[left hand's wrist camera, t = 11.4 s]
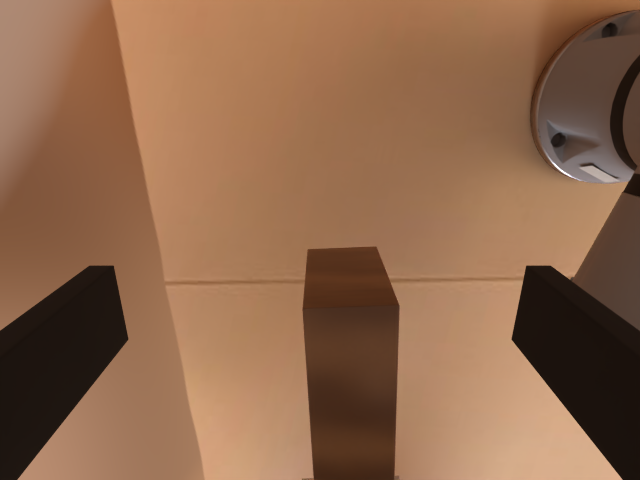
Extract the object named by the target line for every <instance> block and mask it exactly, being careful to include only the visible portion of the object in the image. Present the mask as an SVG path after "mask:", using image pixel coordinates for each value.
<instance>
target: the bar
mask: <svg viewBox="0 0 640 480" xmlns="http://www.w3.org/2000/svg"><path fill="white" fill-rule="evenodd" d="M303 323H304V338H305V353H306V368H307V384H308V399H309V414H310V429H311V444H312V460H313V475H314V480H394V474H395V439H396V405H397V370H398V336H399V303H398V301H397V298H396V296H395V293H394V291H393V288H392V285H391V283H390V280H389V278H388V275H387V273H386V270H385V267H384V265H383V262H382V260H381V257H380V255H379V252H378V250H377V247H354V248H329V249H308V252H307V264H306V275H305V287H304V299H303Z"/></svg>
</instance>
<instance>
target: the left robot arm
mask: <svg viewBox="0 0 640 480" xmlns="http://www.w3.org/2000/svg"><path fill="white" fill-rule="evenodd" d="M530 122H531V131H532V136H533V139H534V142H535V145H536V147H537V149H538V151H539V153H540V154H541V156H542V157H543V158H544V160H545V161H546V162H547V163H548V164H549V165H550V166H551V167H552V168H554V169H555V170H556V171H558V172H560V173H562V174H564V175H566V176H568V177H571V178H574V179H577V180H580V181H585V182H590V183H603V184H609V183H619V182H627V181H629V183H628V184H627V186H626V188H625V190H624V191H623V192H622V194H621V196H620V197H619V199H618V201H617V203H616V205H615V206H614V208H613V210H612V212H611V213H610V215H609V217H608V219H607V220H606V222H605V224H604V226H603V227H602V229H601V231H600V233H599V235H598V236H597V238H596V240H595V242H594V243H593V245H592V247H591V249H590V250H589V252H588V254H587V256H586V258H585V259H584V261H583V263H582V265H581V266H580V268H579V270H578V272H577V273H576V275H575V277H572V278H571V279H570V280H569V279H568V278H567V277H565V276H564V275H563V274H561V273H560V272H558V271H557V270H556V269H554V268H553V267H552V266H526V270H525V275H524V280H523V285H522V290H521V295H520V300H519V305H518V310H517V315H516V320H515V325H514V330H513V335H512V341H513V342H514V343H515V344H516V346H517V347H518V348H519V349H520V351H521V352H522V353H523V354H524V356H525V357H526V358H527V359H528V361H529V362H530V363H531V365H532V366H533V367H534V368H535V370H536V371H537V372H538V373H539V375H540V376H541V377H542V378H543V380H544V381H545V382H546V383H547V385H548V386H549V387H550V388H551V390H552V391H553V392H554V394H555V395H556V396H557V397H558V399H559V400H560V401H561V402H562V404H563V405H564V406H565V407H566V409H567V410H568V411H569V412H570V414H571V415H572V416H573V418H574V419H575V420H576V421H577V423H578V424H579V425H580V426H581V428H582V429H583V430H584V431H585V433H586V434H587V435H588V436H589V438H590V439H591V440H592V441H593V443H594V444H595V445H596V447H597V448H598V449H599V450H600V452H601V453H602V454H603V455H604V457H605V458H606V459H607V460H608V462H609V463H610V464H611V465H612V467H613V468H614V469H615V471H616V472H617V473H618V474H619V476H620V477H621V478H622V479H623V480H640V10H633V11H627V12H623V13H619V14H616V15H612V16H609V17H605V18H603V19H600V20H598V21H595V22H593V23H591V24H589V25H588V26H586V27H584V28H583V29H581V30H580V31H578V32H577V33H576V34H574V35H573V36H572V37H571V38H569V39H568V40H567V41H566V42H565V43H564V44H563V45H562V46H561V47H560V48H559V49H558V50H557V52H556V53H555V54H554V55H553V56H552V58H551V59H550V61H549V62H548V64H547V65H546V67H545V69H544V70H543V72H542V74H541V76H540V78H539V80H538V83H537V86H536V88H535V91H534V95H533V99H532V104H531V113H530ZM631 194H632V195H631ZM638 196H639V197H638ZM127 341H128V335H127V330H126V325H125V320H124V315H123V310H122V305H121V300H120V295H119V290H118V285H117V280H116V275H115V270H114V266H89V267H87V268H86V269H84V270H83V271H82V272H80V273H79V274H77V275H76V276H75V277H73V278H72V279H71V280H69V281H68V282H67V283H65V284H64V285H62V286H61V287H60V288H58V289H57V290H56V291H54V292H53V293H51V294H50V295H49V296H47V297H46V298H45V299H43V300H42V301H40V302H39V303H38V304H36V305H35V306H34V307H32V308H31V309H29V310H28V311H27V312H25V313H24V314H23V315H21V316H20V317H18V318H17V319H16V320H14V321H13V322H12V323H10V324H9V325H7V326H6V327H5V328H3V329H2V330H1V331H0V480H17V479H18V478H19V477H20V476H21V474H22V473H23V472H24V470H25V469H26V468H27V467H28V465H29V464H30V463H31V462H32V460H33V459H34V458H35V457H36V455H37V454H38V453H39V452H40V450H41V449H42V448H43V446H44V445H45V444H46V443H47V441H48V440H49V439H50V438H51V436H52V435H53V434H54V433H55V431H56V430H57V429H58V428H59V426H60V425H61V424H62V423H63V421H64V420H65V419H66V418H67V416H68V415H69V414H70V412H71V411H72V410H73V409H74V407H75V406H76V405H77V404H78V402H79V401H80V400H81V399H82V397H83V396H84V395H85V394H86V392H87V391H88V390H89V388H90V387H91V386H92V385H93V383H94V382H95V381H96V380H97V378H98V377H99V376H100V375H101V373H102V372H103V371H104V369H105V368H106V367H107V366H108V365H109V363H110V362H111V361H112V359H113V358H114V357H115V356H116V354H117V353H118V352H119V351H120V349H121V348H122V347H123V346H124V344H125V343H126V342H127Z"/></svg>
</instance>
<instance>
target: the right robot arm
mask: <svg viewBox="0 0 640 480" xmlns="http://www.w3.org/2000/svg"><path fill="white" fill-rule="evenodd" d="M302 480H314V478H308V479H302ZM394 480H400V478H399V476H394Z"/></svg>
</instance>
